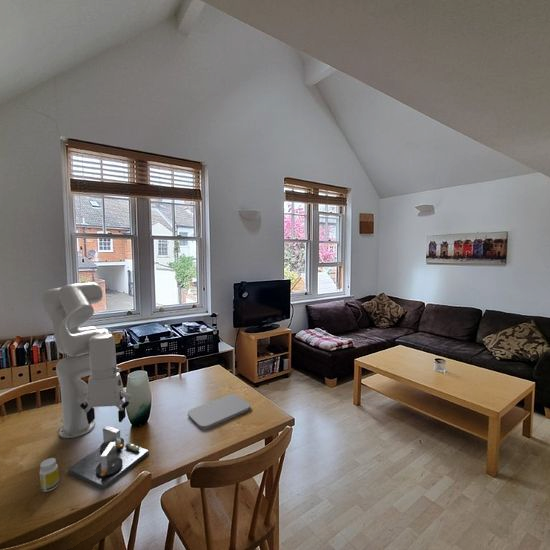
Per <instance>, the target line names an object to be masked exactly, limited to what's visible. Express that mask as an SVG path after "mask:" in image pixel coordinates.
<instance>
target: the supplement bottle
mask: <svg viewBox="0 0 550 550" xmlns="http://www.w3.org/2000/svg"><path fill="white" fill-rule="evenodd" d="M39 465H40V466H39V469H40V470H39V475H38V476H39V483H40V491H41V492H43V493H47V492H51V491H53V490H55V489H56V488H57V487H58V486H59V484H60V475H59V465H58V464H57V460H56V457H50V458H47V459H44V460H43V461H41V462H40V464H39Z"/></svg>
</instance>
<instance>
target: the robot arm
mask: <svg viewBox="0 0 550 550" xmlns="http://www.w3.org/2000/svg"><path fill="white" fill-rule="evenodd" d="M41 296H42V297H41V299H42V301H41V302H42V305H43V308H44V311H45V312H46V314H47V315H48V317H49V319H50V321H51V323H52V328H53V334H54V340H55V345H56V348H57V351H58V352H59V353H61V354H66V355H67V356H66V357H64V358H61V359H60V360H58V362H57V363H56V365H55V371H56V376H57V379H58V384H59V388H60V389H59V390H60V399H61V410H62V411H61V412H62V418H61V419H60V422H62V423H63V426H62V427H61V428H60V430H59V432H58V433H59V437H61V438H62V439H74V438H77V437H79V438H80V437H81V436H85V434H87V433H90V432H91V431H92V430H93V429H94V428H95V427H96V420H95V419H96V417H95V416H96V415H95V414H96V413H95V408H99V407H102V408H103V407H116V408H117V409H118V411H117V412H118V413H117V414H118V415H117V417H118V422H119V423H122V422H123V421H124V419H125V418H126V414H127V413H126V412H127V411H126V408H127V407H128V406H129V404H130V403H131V401H132V399H133V397H134V395H133V394H131V393H129V392H127V391H124V385H123V381H122V377H121V374H120V372H121V371H122V368H121V367H118V365H117V354H116V353H117V352H116V339H115V336H114V335H113V334H112V332H111V331H110V330H109V329H108V328H103V327H102V328H98V327H97V326H95V325H87V326H83V327H82V326H81V325H83V324H85V323H87V322H88V321H90V319H92V317H93V316H94V314H95V309H94V307H93V305H94V304H97V303H99V302H101V301H102V299H103V290H102V288H101V285H100V284H98V283H97V282H94V281H90V282H88V281H87V282H79V283H78V282H77V283H70V284H66V285H65V284H64V285H63V286H61V287H54V288H50V289H47V290H46V291H44V292H43V293H42V295H41ZM79 326H81V327H79ZM87 376H89V377H88V381H87V382H85V380H83V379H81V378H85V377H87ZM123 399H126V401H124V400H123Z"/></svg>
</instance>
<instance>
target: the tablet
mask: <svg viewBox="0 0 550 550" xmlns="http://www.w3.org/2000/svg"><path fill="white" fill-rule="evenodd" d="M250 408H251V404H250V402H248V401H247V400H246V399H243V398H242V397H241V396H239V395H238V394H235V393H231V394H227V395H224V396H221V397H220V398H217V399H215V400H212V401H209V402H206V403H204V404H201V405H199V406H196V407H193V408H191V409H189V410H188V411H187V416H188V418H189V419H191V421H192V422H193V423H194V424H195V425H197V426H198V427H199V428H200V429H201V430H207V429H211V428H213V427H214V426H217V425H219V424H222V423H223V422H226V421H228V420H230V419H232V418H234V417H237V416H239V415H241V414H244V413H246V412H248V411H249V410H250Z"/></svg>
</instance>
